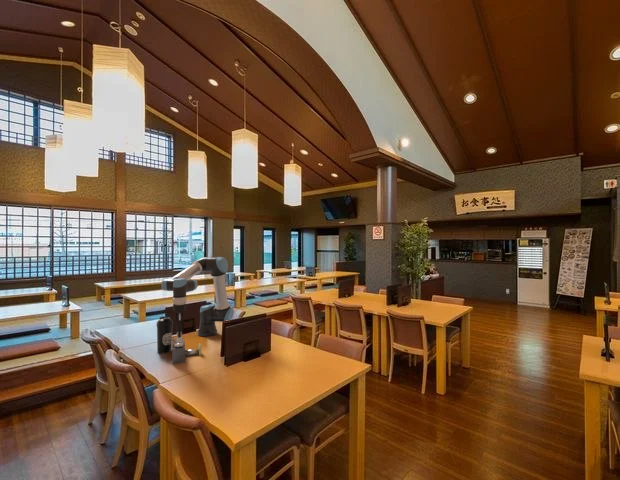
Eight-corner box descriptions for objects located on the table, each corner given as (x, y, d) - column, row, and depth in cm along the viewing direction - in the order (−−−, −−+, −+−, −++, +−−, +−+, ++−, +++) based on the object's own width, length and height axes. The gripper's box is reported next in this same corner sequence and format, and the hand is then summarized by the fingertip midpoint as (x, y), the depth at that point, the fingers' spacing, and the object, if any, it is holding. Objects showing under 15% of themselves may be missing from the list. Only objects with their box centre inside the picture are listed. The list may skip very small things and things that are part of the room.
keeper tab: (174, 343, 191) (174, 344, 183) (182, 342, 193) (183, 343, 185) (174, 345, 190) (174, 347, 183) (182, 344, 193) (183, 345, 185)
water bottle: (160, 355, 200) (161, 319, 200) (153, 351, 206) (153, 317, 206) (175, 351, 208) (176, 317, 208) (167, 347, 214) (168, 314, 214)
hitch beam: (172, 352, 205) (172, 336, 205) (183, 351, 208) (183, 335, 208) (172, 364, 185) (172, 346, 185) (184, 362, 188) (185, 345, 188)
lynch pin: (200, 352, 206) (200, 343, 206) (201, 355, 200) (201, 346, 200) (183, 354, 202) (183, 345, 202) (184, 357, 195) (184, 348, 196)
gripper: (172, 302, 193) (172, 339, 192) (173, 306, 181) (172, 346, 181) (185, 301, 196) (185, 338, 196) (186, 305, 184) (186, 344, 184)
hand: (179, 342), depth 188 cm, fingers closed
